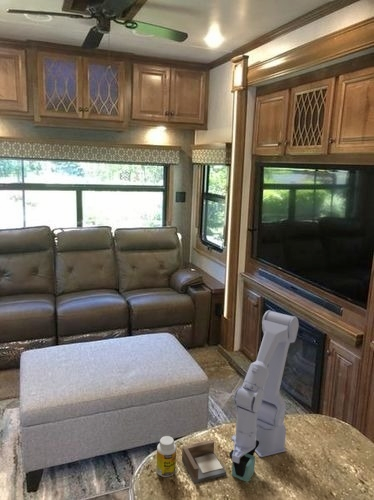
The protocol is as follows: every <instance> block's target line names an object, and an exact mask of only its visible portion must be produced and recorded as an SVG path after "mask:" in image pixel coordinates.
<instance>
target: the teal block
mask: <svg viewBox="0 0 374 500" xmlns="http://www.w3.org/2000/svg"><path fill="white" fill-rule="evenodd" d="M245 456H246V457H249V458H250V460H249V461H248V463H247V465H246V469H245V473H244V476H243V477H240V476H238V475H236V472H235V468H234V464H233V462H232V465H231V476H232V477H234V478H237V479H239V480H241V481H244V482H246V483H249V482H250V479H251V477H252V476H253V474H254V473H255V467H256V466H255V465H256V456H255V455H253V456H252V455H250V454H247V453H246V454H245Z"/></svg>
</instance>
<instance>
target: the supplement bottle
mask: <svg viewBox="0 0 374 500" xmlns="http://www.w3.org/2000/svg"><path fill="white" fill-rule="evenodd" d="M176 463H177V445H176V444H175V441H174V438H173V437H172V436H169V435H164V436H162V437H161V438H160V439H159V443H158V444H157V447H156V473H157V474H158V475H159V476H161V477H163V478H169V477H171V476H173V475H174V474H175V472H176V469H177V468H176V466H177V465H176Z"/></svg>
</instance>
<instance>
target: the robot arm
mask: <svg viewBox="0 0 374 500" xmlns="http://www.w3.org/2000/svg"><path fill="white" fill-rule="evenodd" d="M261 324H262V326H261V330H262V332H263V337H262V341H261V343H260V347H259V351H258V352H257V357H256V360H255V361H253V362H251V363H250V366H249V367H248V369H247V373H246V375H245V377H244V380H243V383H242V385H241V386H239V387H237V389H236V391H235V394H234V398H233V405H234V407H235V408H234V409H235V410H234V411H235V412H236V422H235V423H236V424H235V434H233V435H232V436H231V439H230V440H231V441H232V442H234V443H233V449H231V451H230V452H229V457H230V458H229V459H230V460H231V462H232V463H233V464H234V468H235V472H236V475H238V476H240V477H243V476H244V473H245V469H246V465H247V463H248V461H249V460H250V458H249V457H246V456H245V454H246V453H247V454H250V455H252V456H255V453H256V454H257V456H258V457H259V458H264V457H268V456H272V455H276V454H281V453H284V452H286V451H287V449H286V448H285V446H286V445H285V444H286V437H287V436H286V435H287V433H286V432H287V429H286V424H285V423H284V421H285V418H286V417H285V416H286V406H287V405H286V401H285V400H284V399H283V397H281V394H280V389H281V384H282V379H283V376H284V372H285V371H284V370H285V366H286V360H287V356H288V351H289V348H290V344H293V343H295V342H296V339H297V335H298V331H299V326H300V324H299V319H298V317H297V316H295V315H290V314H284V313H281V312H276V311H273V310H270V309H268V310H266V311H265V313H264V314H263V316H262V320H261Z"/></svg>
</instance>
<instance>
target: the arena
mask: <svg viewBox="0 0 374 500" xmlns="http://www.w3.org/2000/svg"><path fill="white" fill-rule="evenodd" d="M181 461H182V462H183V465H184V466H185V469H186V471H187V472H188V475H189V476H190V478H191V480H192V482H193V483H194V484H196V483H200V482H201V483H202V482H204V481H209V480H211V479H216V478H221V477H223V476H226V475H227V471H226V469H225V467H224V466H223V465H222V463H221V461H220V459H218V457H217V454H215V441H214V440H213V439H211V440H206V441H201V442H198V443H197V442H196V443H193V444H189V445H184V446H182V448H181Z"/></svg>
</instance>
